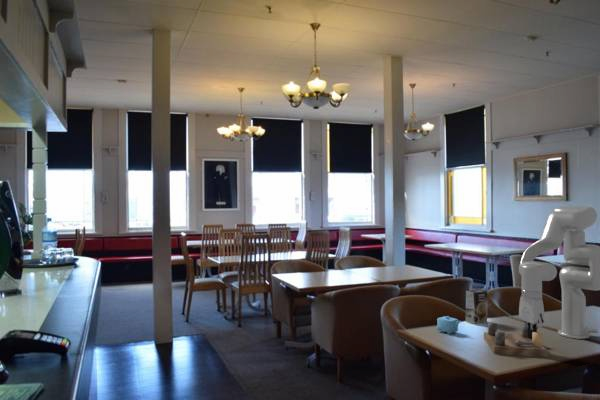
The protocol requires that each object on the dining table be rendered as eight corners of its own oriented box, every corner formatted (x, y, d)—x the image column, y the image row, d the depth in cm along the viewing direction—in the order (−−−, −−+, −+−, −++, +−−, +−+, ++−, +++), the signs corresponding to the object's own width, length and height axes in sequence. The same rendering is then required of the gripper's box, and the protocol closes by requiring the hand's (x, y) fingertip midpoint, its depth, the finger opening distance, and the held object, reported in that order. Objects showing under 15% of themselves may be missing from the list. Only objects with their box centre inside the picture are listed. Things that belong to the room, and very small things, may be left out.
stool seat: (532, 341, 198) (532, 323, 198) (547, 357, 179) (547, 337, 179) (483, 338, 202) (484, 321, 202) (493, 353, 183) (494, 334, 183)
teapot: (464, 334, 209) (464, 318, 209) (457, 337, 205) (457, 320, 205) (441, 328, 218) (441, 313, 219) (434, 331, 215) (434, 315, 215)
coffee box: (475, 324, 225) (475, 292, 225) (465, 321, 231) (465, 290, 231) (487, 322, 230) (488, 291, 230) (477, 319, 235) (477, 288, 235)
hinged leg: (516, 345, 182) (516, 332, 182) (514, 342, 186) (514, 330, 186) (543, 347, 180) (543, 334, 180) (540, 344, 183) (540, 332, 183)
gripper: (511, 291, 193) (512, 333, 193) (536, 299, 178) (536, 345, 178) (527, 290, 194) (528, 332, 194) (553, 297, 179) (553, 343, 180)
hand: (532, 338), depth 186 cm, fingers closed
